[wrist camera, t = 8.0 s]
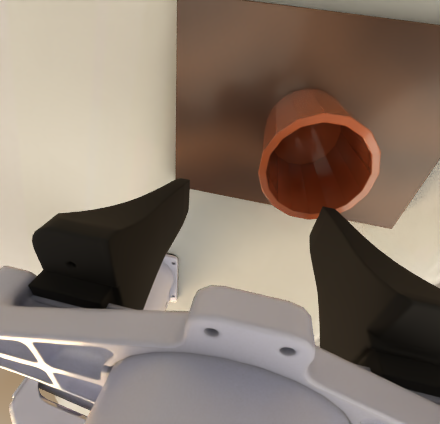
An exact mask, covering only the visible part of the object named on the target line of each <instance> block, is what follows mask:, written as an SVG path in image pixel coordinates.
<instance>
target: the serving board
mask: <svg viewBox="0 0 440 424" xmlns="http://www.w3.org/2000/svg"><path fill="white" fill-rule="evenodd" d="M301 89H318V90H322V91H325V92H327V93H329V94H330V95H332V96H333V97H334V98H336V99H337V100H338V101H340V102H341V103H342V104H343V105H344V106H345V107H346V108H347V109H348V110H349V111H350V112H351V113H352V114H354V115H355V116H356V117H357V118H358V119H359V120H360V121H361V122H362V123H363V124H364V125H365V126H366V127H367V128H369V129H370V130H371V132H372V133H373V135H374V138H375V140H376V142H377V144H378V146H379V148H380V150H381V151H380V152H381V159H380V173H379V175H378V177H377V179H376V181H375V183H374V184H373V186H372V188H371V190H370V192H369V193H368V194H367V195H366V196H365V197H364V198H363V199H362V200H360V201H359V202H358V203H357V204H356V205H355V206H353V207H352V208H351V209H349V210H346V211H344V212H342V213H340V214H341V215H342V216H343V217H344V218H345V219H346V220H349V221H354V222H360V223H365V224H370V225H375V226H380V227H385V228H390V229H392V228H393V226H394V225H395V223H396V222H397V220H398V219H399V217H400V216H401V215H402V213H403V212H404V210H405V209H406V207H407V206H408V204H409V203H410V201H411V200H412V199H413V197H414V196H415V194H416V193H417V191H418V190H419V188H420V187H421V185H422V184H423V183H424V181H425V180H426V178H427V177H428V175H429V174H430V172H431V171H432V169H433V168H434V167H435V165H436V164H437V162H438V161H439V159H440V25H435V24H428V23H420V22H412V21H404V20H396V19H389V18H381V17H373V16H365V15H357V14H350V13H342V12H334V11H326V10H318V9H311V8H303V7H295V6H287V5H280V4H272V3H264V2H256V1H248V0H177V74H176V179H178V178H183V179H188V180H190V189H194V190H199V191H204V192H209V193H214V194H219V195H224V196H229V197H234V198H239V199H244V200H249V201H254V202H259V203H264V204H269V205H272V204H271V202H270V201H269V200H268V198H267V197H266V196H265V194H264V193H263V192H262V189H261V184H260V179H259V175H258V170H259V163H260V156H261V149H262V142H263V134H264V129H265V124H266V120H267V118H268V115H269V113H270V112H271V110H272V109H273V107H274V106H275V105H276V104H277V103H278V102H279V101H280V100H281V99H282V98H283V97H285V96H286V95H288V94H290V93H292V92H294V91H297V90H301Z"/></svg>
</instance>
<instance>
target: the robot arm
mask: <svg viewBox="0 0 440 424" xmlns="http://www.w3.org/2000/svg"><path fill="white" fill-rule="evenodd" d="M189 190H190V180H188V179H183V178H178V179H176V180H174V181H172V182H170V183H168V184H166V185H165V186H163V187H161V188H159V189H157V190H155V191H153V192H150V193H148V194H146V195H144V196H142V197H139V198H137V199H134V200H131V201H128V202H125V203H121V204H117V205H114V206H110V207H105V208H100V209H95V210H88V211H81V212H70V213H58V214H57V215H56V216H54V217H53V218H52V219H51V220H49V221H48V222H47V223H46V224H44V225H43V226H42V227H40V228H39V229H38V230H37V231H35V233H34V234H33V238H32V243H33V247H34V250H35V252H36V254H37V257H38V259H39V261H40V263H41V265H42V268H43V271H42V272H41V273H40V274H39V275H38V276H36V275H35V274H33V273H32V272H29V271H26V270H22V269H18V268H13V267H9V266H3V267H2V268H1V269H0V368H3V369H6V370H9V371H12V372H15V373H18V374H21V375H23V376H26V377H25V379H24V380H23V381H22V383H21V384H20V385H19V387H18V388H17V389H16V391H15V392H14V394H13V395H12V399H13V401H12V402H11V404H10V405H9V410H10V416H11V419H12V424H440V288H438V287H436V286H434V285H432V284H430V283H429V282H427V281H425V280H423V279H422V278H420V277H418V276H416V275H415V274H413V273H411V272H410V271H408V270H407V269H405V268H404V267H402V266H401V265H399V264H398V263H396V262H395V261H393V260H392V259H390V258H389V257H388V256H387V255H385V254H384V253H383V252H381V251H380V250H379V249H377V248H376V247H375V246H374V245H373V244H371V243H370V242H369V241H368V240H367V239H366V238H365V237H364V236H363V235H361V234H360V233H359V232H358V231H357V230H356V229H355V228H354V227H353V226H352V225H351V224H350V223H349V222H348V221H347V220H346V219H345V218H344V217H343V216H342V215H341V214H340V213H339V212H338V211H337V210H336V209H334V208H329V207H324V206H323V207H322V209H321V211H320V213H319V216H318V218H317V220H316V222H315V225H314V227H313V229H312V231H311V234H310V254H311V260H312V265H313V270H314V275H315V280H316V286H317V292H318V304H319V322H320V347H318V346H316V345H315V342H314V335H313V327H312V319H311V316H310V315H309V313H308V312H307V311H306V310H305V309H304V308H303V307H301V306H299V305H297V304H295V303H292V302H290V301H286V300H282V299H278V298H274V297H269V296H265V295H261V294H256V293H252V292H248V291H243V290H239V289H235V288H231V287H226V286H214V285H211V286H208V287H205V288H202V289H200V290H198V291H197V293H196V295H195V297H194V299H193V302H192V305H191V308H190V311H166V308H167V306H168V304H169V301H170V302H176V301H177V284H178V258H177V257H176V256H173V255H168V254H166V253H167V252H168V250H169V248H170V246H171V245H172V243H173V241H174V239H175V238H176V236H177V234H178V232H179V231H180V229H181V227H182V225H183V223H184V221H185V218H186V215H187V213H188V209H189ZM39 388H40V389H42V390H45V391H47V392H49V393H52V394H54V395H56V396H58V397H61V398H63V399H65V400H67V401H70V402H72V403H74V404H77V405H79V406H81V407H83V408H86V409H88V410H90V413H89V415H88V417H87V416H85V415H83V414H80V413H78V412H76V411H73V410H71V409H69V408H66V407H64V406H62V405H59V404H57V403H55V402H52V401H50V400H48V399H46V398H45V397H43V396H42V395H41V394H40V392H39Z"/></svg>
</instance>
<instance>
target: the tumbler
mask: <svg viewBox="0 0 440 424" xmlns="http://www.w3.org/2000/svg"><path fill="white" fill-rule="evenodd" d="M380 151H381V150H380V148H379V146H378V144H377V142H376V140H375V138H374V135H373V133H372V132H371V130H370V129H369V128H367V127H366V126H365V125H364V124H363V123H362V122H361V121H360V120H359V119H358V118H357V117H356V116H355V115H354V114H352V113H351V112H350V111H349V110H348V109H347V108H346V107H345V106H344V105H343V104H342V103H341V102H340V101H338V100H337V99H336V98H334V97H333V96H332V95H330V94H329V93H327V92H325V91H322V90H318V89H301V90H297V91H294V92H292V93H290V94H288V95H286V96H285V97H283V98H282V99H281V100H280V101H279V102H278V103H277V104H276V105H275V106H274V107H273V109H272V110H271V112H270V113H269V115H268V118H267V120H266V124H265V129H264V134H263V142H262V149H261V156H260V163H259V170H258V175H259V179H260V184H261V189H262V192H263V193H264V194H265V196H266V197H267V198H268V200H269V201H270V202H271V204H272V205H273V206H274V207H276V208H277V209H279V210H281V211H282V212H284V213H286V214H287V215H290V216H294V217H299V218H304V219H317V218H318V216H319V213H320V211H321V209H322V207H323V206H324V207H329V208H334V209H336V210H337V211H338V212H339V213H342V212H344V211H346V210H349V209H351V208H352V207H353V206H355V205H356V204H357V203H358V202H359V201H360V200H362V199H363V198H364V197H365V196H366V195H367V194H368V193H369V192H370V190H371V188H372V186H373V184H374V183H375V181H376V179H377V177H378V175H379V173H380V159H381V152H380Z"/></svg>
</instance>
